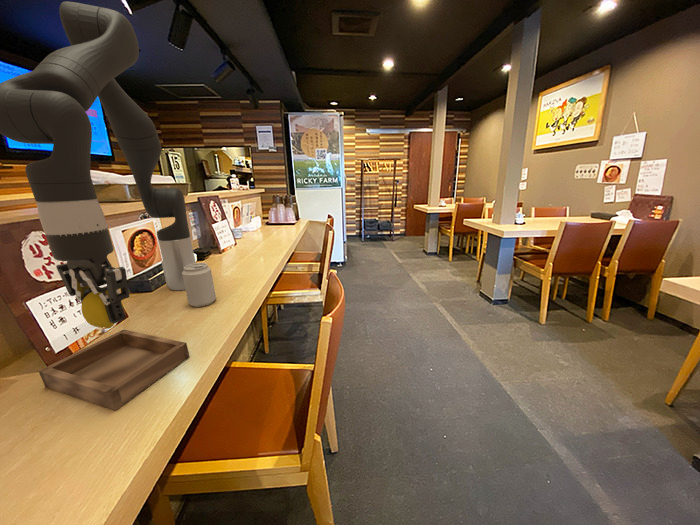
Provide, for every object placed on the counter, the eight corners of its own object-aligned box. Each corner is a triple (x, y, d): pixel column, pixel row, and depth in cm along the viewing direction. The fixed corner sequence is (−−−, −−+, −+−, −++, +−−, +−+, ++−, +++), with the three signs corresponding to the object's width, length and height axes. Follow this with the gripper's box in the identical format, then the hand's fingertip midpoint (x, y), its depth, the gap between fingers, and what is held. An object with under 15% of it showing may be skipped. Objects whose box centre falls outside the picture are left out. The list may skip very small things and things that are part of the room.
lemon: (108, 320, 53) (96, 282, 51) (135, 320, 53) (124, 282, 50) (80, 336, 48) (65, 295, 45) (110, 336, 48) (97, 295, 45)
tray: (45, 386, 49) (38, 371, 48) (127, 342, 62) (123, 329, 61) (115, 410, 44) (109, 393, 43) (189, 356, 57) (186, 342, 56)
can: (205, 309, 78) (197, 270, 74) (182, 307, 79) (174, 268, 76) (221, 298, 85) (215, 262, 81) (201, 296, 86) (194, 260, 83)
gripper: (132, 226, 46) (154, 314, 51) (76, 223, 50) (102, 305, 55) (78, 235, 39) (111, 336, 44) (19, 230, 43) (55, 323, 48)
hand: (106, 318), depth 50 cm, fingers closed on lemon, 5 cm apart
